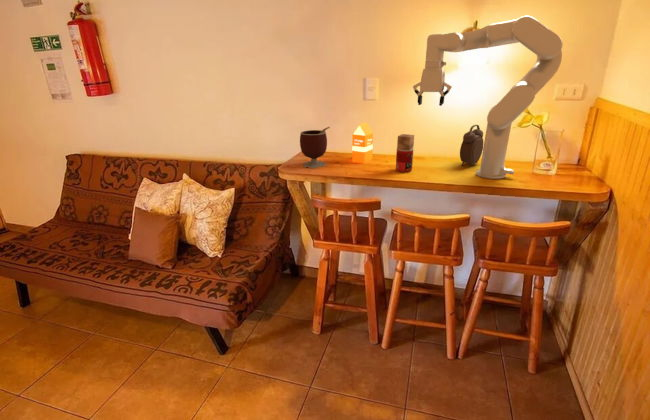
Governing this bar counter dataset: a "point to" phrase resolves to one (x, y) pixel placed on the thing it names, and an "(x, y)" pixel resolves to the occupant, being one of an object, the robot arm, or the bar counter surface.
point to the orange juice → (362, 144)
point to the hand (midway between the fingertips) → (430, 105)
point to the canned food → (404, 160)
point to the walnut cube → (405, 142)
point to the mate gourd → (313, 146)
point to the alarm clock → (472, 146)
